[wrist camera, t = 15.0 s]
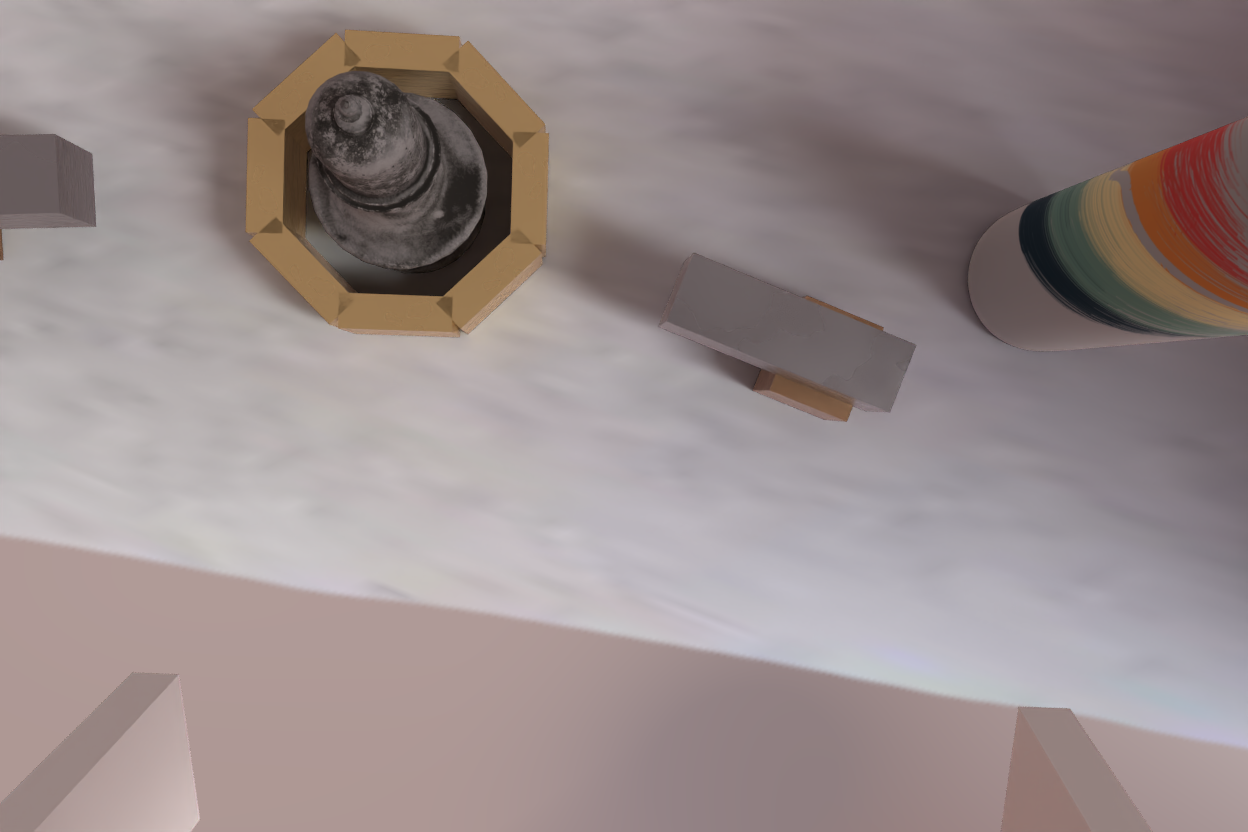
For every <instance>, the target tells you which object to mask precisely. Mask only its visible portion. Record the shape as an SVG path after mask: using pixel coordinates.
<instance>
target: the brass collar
mask: <svg viewBox="0 0 1248 832" xmlns="http://www.w3.org/2000/svg"><path fill="white" fill-rule="evenodd" d="M350 71H367V72H371V73H374V74H377V75H380V76H382V77H384V78H386V79H387V80H389V81H391V82H392V83H394V84H395V85H396V86H397V87H398V88H399V89H400V90H401V91H402V92H405V93H414V94H417V95H420V96H424V97H432V98H450V99H458V100H459V101H460V103H461V104H462V105H463V106H464V107H465V108H466V109H467V110H468V111H469V112H470V113H471V114H472V115H473V117H474V118H475V119H476V120H477V121H478V122H479V123H480V124H481V125H482V126H483V127H484V128H485V129H486V131H487V132H488V133H489V134H490V135H491V136H492V137H493V138H494V139H495V140H496V141H497V142H498V143H499V145H500V146H501V147H502V148H503V149H504V150H505V151H506V152H507V153H508V154H509V155H510V156H511V157H512V159H513V163H512V200H511V234H510V235H509V236H508V237H506V238H505V239H504V240H503V241H502V242H501V243H500V244H499V245H498V246H497V247H496V248H495V249H494V250H492V251H491V252H490V253H489V254H488V255H487V256H486V257H485V258H484V259H483V260H482V261H481V262H480V263H478V264H477V265H476V266H475V267H474V268H473V269H472V270H471V271H470V272H469V273H468V274H467V275H466V276H464V277H463V278H462V279H461V280H460V281H459V282H458V283H457V284H456V285H455V286H454V287H453V288H452V289H451V290H449V291H448V292H447V293H446V294H445V295H444V296H417V295H390V294H364V293H357V292H356V291H355V290H354V289H353V288H352V287H351V286H350V285H349V284H348V283H347V282H346V280H345V279H344V278H343V277H342V276H341V275H340V274H339V273H338V272H337V271H336V270H335V269H334V268H333V267H332V266H331V265H330V264H329V263H328V262H327V261H326V260H325V259H324V257H323V256H322V255H321V254H320V253H319V252H318V251H317V250H316V249H315V248H314V247H313V246H312V245H311V244H310V243H309V242H308V241H307V240H306V239H305V226H306V182H307V152H308V151H309V150H310V149H311V147H310V145H309V143H308V139H307V135H306V131H305V113H306V110H307V107H308V104H309V100H310V99H311V97H312V96H313V94H314V93H315V91H316V90H317V88H319V87H320V86H321V85H322V84H323V83H324V82H325V81H326V80H328V79H330V78H332V77H334V76H336V75H338V74H340V73H345V72H350ZM252 110H253V111H254V112H255V113H256V114H257V115H258V116H259V117H260V118H248V143H247V190H246V233H248V234H250V235H252V236H254V237H253V238H252V239H251V240H250V242H251V243H252V244H253V246H254V247H255V248H256V249H257V250H258V251H259V252H260V253H261V254H262V255H263V256H264V257H265V258H266V259H267V260H268V261H269V262H270V263H271V264H272V265H273V266H274V267H275V268H276V269H277V270H278V272H279V273H280V274H281V275H282V276H283V277H284V278H285V279H286V280H287V281H288V282H289V283H290V284H291V285H292V286H293V287H294V288H295V289H296V290H297V291H298V292H299V293H300V294H301V295H302V296H303V297H304V299H305V300H306V301H307V302H308V303H309V304H310V305H311V306H312V307H313V308H314V309H315V310H316V311H317V312H318V313H319V314H320V315H321V316H322V317H323V318H324V319H325V320H326V321H327V322H328V323H329V324H330V325H333V326H336V327H338V328H339V329H342V330H345V331H349V332H352V333H355V334H378V335H407V336H436V337H460V329H461V330H463V331H464V332H465V333H467V334H469V333H470V332H471V331H472V330H473V329H474V328H475V327H476V326H477V325H478V324H479V323H480V322H482V321H483V320H484V319H485V318H486V317H487V316H488V315H489V314H490V313H491V312H492V311H493V310H494V309H495V308H497V307H498V306H499V305H500V304H501V303H502V302H503V301H504V300H505V299H506V298H507V297H508V296H509V295H511V294H512V293H513V292H514V291H515V290H516V289H517V288H518V287H519V286H520V285H521V284H522V283H523V282H524V281H526V280H527V279H528V278H529V277H530V276H531V275H532V274H533V273H534V272H535V271H536V270H537V269H538V268H539V267H541V266H542V257H546V229H547V193H548V157H549V133H545V124H544V123H543V121H542V120H541V119H540V118H539V117H538V116H537V115H536V114H535V113H534V112H533V111H532V110H531V108H530V107H529V106H528V105H527V104H526V103H525V102H524V101H523V100H522V99H521V98H520V96H519V95H518V94H517V93H516V92H515V91H514V90H513V89H512V88H511V87H510V86H509V85H508V83H507V82H506V81H505V80H504V79H503V78H502V77H501V76H500V75H499V74H498V73H497V72H496V70H495V69H494V68H493V67H492V66H491V65H490V64H489V63H488V62H487V61H486V60H485V58H484V57H483V56H482V55H481V54H480V53H479V52H478V51H477V50H476V49H475V48H474V47H473V45H472V44H471V43H470V42H469V41H467V42H466V43H465V44H464V45H463V46H462V45H461V41H460V37H459V36H442V35H425V34H409V33H392V32H375V31H358V30H345V42H344V41H343V40H342V39H341V38H340V37H339V35H338V34H337V33H335V34H334V35H333V36H332V37H331V38H330V39H329V40H328V41H327V42H325V43H324V44H323V45H322V46H321V47H320V48H319V49H318V50H317V51H316V52H314V53H313V54H312V55H311V56H310V57H309V58H308V59H307V60H306V61H304V62H303V63H302V64H301V65H300V66H299V67H298V68H297V69H296V70H295V71H293V72H292V73H291V74H290V75H289V76H288V77H287V78H286V79H285V80H284V81H282V82H281V83H280V84H279V85H278V86H277V87H276V88H275V89H274V90H273V91H271V92H270V93H269V94H268V95H267V96H266V97H265V98H264V99H263V100H262V101H260V102H259V103H258V104H257V105H256V106H255V107H254V108H253V109H252Z"/></svg>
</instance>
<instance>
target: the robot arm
mask: <svg viewBox="0 0 1248 832" xmlns="http://www.w3.org/2000/svg"><path fill="white" fill-rule="evenodd" d="M199 820H200V817H199V810H198V802H197V795H196V788H195V781H194V774H193V768H192V760H191V753H190V746H189V739H188V733H187V726H186V720H185V712H184V705H183V699H182V692H181V684H180V677H179V674H159V673H134V672H133V673H131V674H130V676H128V678H127V679H125V680H124V681H123V682H122V683H121V684H120V685H119V686H118V688H116V689H115V690H114V691H113V692H112V693H111V694H110V695H109V696H108V697H107V698H106V699H105V700H104V701H103V702H102V703H101V704H100V705H99V706H98V707H97V708H96V709H95V710H94V711H93V712H92V713H91V714H90V715H89V716H88V717H87V718H86V719H85V720H84V721H83V722H82V723H81V724H80V725H79V726H78V727H77V728H76V729H75V730H74V731H73V732H72V733H71V734H70V735H69V736H68V737H67V738H66V739H65V740H64V741H63V742H62V743H61V744H60V745H59V746H58V747H57V748H56V749H55V750H53V751H52V752H51V754H49V755H48V756H47V757H46V758H45V760H43V761H42V762H41V763H40V764H39V765H38V766H37V767H36V768H35V769H34V770H33V771H32V772H31V773H30V774H29V775H28V776H27V777H26V778H25V779H24V780H23V781H22V782H21V783H20V784H19V785H18V786H17V787H16V788H15V789H14V790H13V791H12V792H11V793H10V794H9V795H8V796H7V797H6V798H5V799H4V800H3V801H2V802H1V803H0V832H191V831H192V830H193V828H194V827H195V825H196V824H197V822H198V821H199ZM1001 832H1153V831H1152V830H1151V828H1150V827H1149V825H1148V824H1147V823H1146V821H1145V819H1144V818H1143V816H1142V815H1141V813H1140V812H1139V810H1138V809H1137V807H1136V806H1135V805H1134V803H1133V802H1132V800H1131V799H1130V797H1129V796H1128V794H1127V793H1126V791H1125V790H1124V788H1123V787H1122V785H1121V784H1120V782H1119V781H1118V779H1117V778H1116V776H1115V775H1114V773H1113V772H1112V770H1111V769H1110V767H1109V766H1108V764H1107V763H1106V761H1105V760H1104V759H1103V757H1102V755H1101V754H1100V752H1099V751H1098V750H1097V748H1096V747H1095V745H1094V744H1093V742H1092V741H1091V739H1090V738H1089V736H1088V735H1087V733H1086V732H1085V730H1084V729H1083V727H1082V726H1081V724H1080V723H1079V721H1078V720H1077V718H1076V717H1075V715H1074V714H1073V712H1072V711H1071V709H1067V708H1041V707H1018V714H1017V721H1016V728H1015V735H1014V742H1013V748H1012V755H1011V762H1010V770H1009V777H1008V784H1007V790H1006V797H1005V804H1004V811H1003V818H1002V825H1001Z"/></svg>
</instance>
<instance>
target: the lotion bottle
mask: <svg viewBox="0 0 1248 832" xmlns="http://www.w3.org/2000/svg"><path fill="white" fill-rule="evenodd" d="M968 288H969V294H970V298H971V302H972V305H973V307H974V310H975V312H976V314H977V315H978V317H979V319H980V320H981V322H982V323H983V324H984V326H985V327H986V328H987V329H988V330H989V331H990V332H991V333H992V334H993V335H995V336H996V337H997V338H999V339H1000V340H1002V341H1003V342H1005V343H1007V344H1009V345H1012V346H1014V347H1017V348H1020V349H1024V350H1030V351H1063V350H1077V349H1089V348H1100V347H1112V346H1124V345H1136V344H1147V343H1159V342H1171V341H1182V340H1194V339H1206V338H1218V337H1229V336H1241V335H1248V117H1246V118H1243V119H1241V120H1238V121H1236V122H1233V123H1231V124H1228V125H1226V126H1223V127H1220V128H1218V129H1215V130H1213V131H1210V132H1208V133H1205V134H1203V135H1200V136H1198V137H1195V138H1193V139H1190V140H1188V141H1185V142H1183V143H1180V144H1178V145H1175V146H1173V147H1170V148H1167V149H1165V150H1162V151H1160V152H1157V153H1155V154H1152V155H1150V156H1147V157H1145V158H1142V159H1140V160H1137V161H1135V162H1132V163H1130V164H1127V165H1125V166H1122V167H1120V168H1117V169H1115V170H1112V171H1109V172H1107V173H1104V174H1102V175H1099V176H1097V177H1094V178H1092V179H1089V180H1087V181H1084V182H1082V183H1079V184H1077V185H1074V186H1072V187H1069V188H1067V189H1064V190H1062V191H1059V192H1057V193H1054V194H1051V195H1049V196H1046V197H1044V198H1041V199H1039V200H1036V201H1034V202H1032V203H1029V204H1027V205H1025V206H1022V207H1020V208H1018V209H1016V210H1014V211H1012V212H1010V213H1008V214H1006V215H1005V216H1003V217H1001V218H1000V219H999V220H997V221H996V222H995V223H994V224H993V225H992V226H990V227H989V228H988V230H987V231H986V232H985V233H984V234H983V236H982V237H981V238H980V240H979V241H978V243H977V245H976V247H975V249H974V251H973V254H972V257H971V260H970V264H969V271H968Z"/></svg>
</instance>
